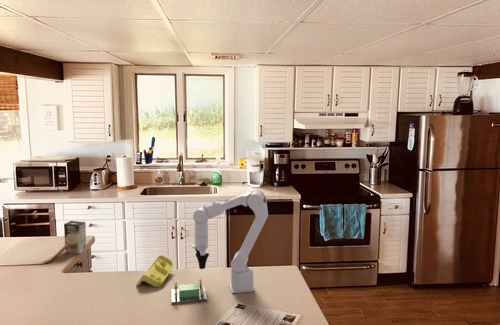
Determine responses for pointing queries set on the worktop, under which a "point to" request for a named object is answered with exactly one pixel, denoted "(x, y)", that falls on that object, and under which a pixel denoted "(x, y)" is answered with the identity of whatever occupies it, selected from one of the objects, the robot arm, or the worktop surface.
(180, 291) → the green rectangular block
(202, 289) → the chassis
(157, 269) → the plastic component
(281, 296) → the worktop surface
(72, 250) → the coffee box
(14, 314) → the worktop surface
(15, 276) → the worktop surface
